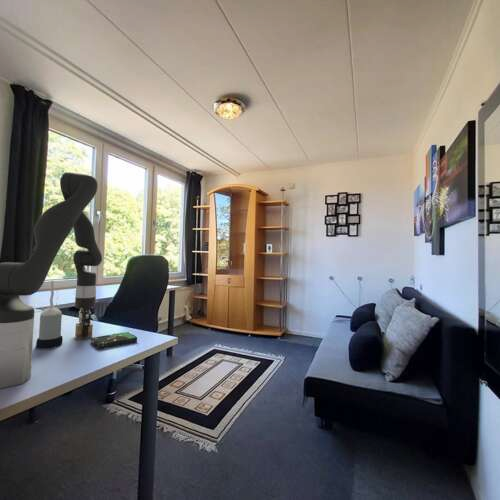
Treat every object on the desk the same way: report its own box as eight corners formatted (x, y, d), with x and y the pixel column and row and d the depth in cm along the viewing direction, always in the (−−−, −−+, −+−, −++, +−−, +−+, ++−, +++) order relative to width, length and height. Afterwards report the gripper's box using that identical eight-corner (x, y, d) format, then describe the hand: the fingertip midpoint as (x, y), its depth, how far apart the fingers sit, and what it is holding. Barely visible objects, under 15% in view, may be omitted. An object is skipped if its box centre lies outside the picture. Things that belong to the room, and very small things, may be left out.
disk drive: (98, 352, 100) (137, 343, 110) (98, 344, 100) (137, 336, 110) (90, 344, 107) (127, 337, 118) (90, 337, 107) (128, 330, 118)
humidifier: (40, 342, 105) (44, 279, 105) (65, 341, 108) (68, 279, 108) (32, 350, 97) (36, 282, 98) (58, 348, 100) (62, 282, 101)
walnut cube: (91, 337, 114) (92, 324, 114) (76, 339, 110) (77, 326, 110) (89, 334, 118) (90, 321, 118) (75, 336, 114) (75, 323, 114)
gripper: (98, 297, 111) (96, 338, 111) (92, 293, 122) (90, 329, 122) (77, 298, 106) (75, 341, 106) (73, 294, 118) (71, 332, 117)
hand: (83, 334), depth 114 cm, fingers closed on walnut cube, 5 cm apart
